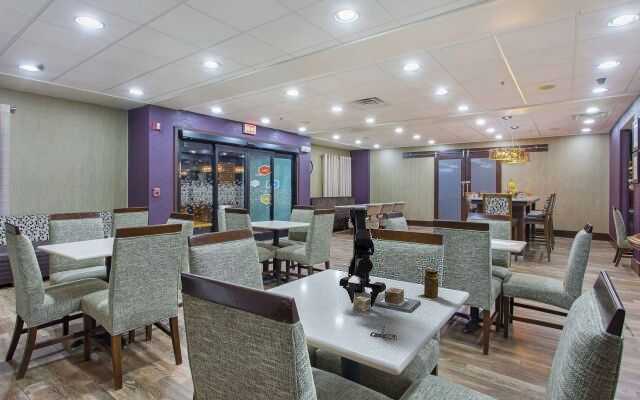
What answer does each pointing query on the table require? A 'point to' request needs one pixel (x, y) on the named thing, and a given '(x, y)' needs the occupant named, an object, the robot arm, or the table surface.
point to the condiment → (430, 285)
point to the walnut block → (394, 295)
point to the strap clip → (387, 336)
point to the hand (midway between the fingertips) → (361, 305)
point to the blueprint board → (405, 305)
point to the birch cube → (362, 303)
